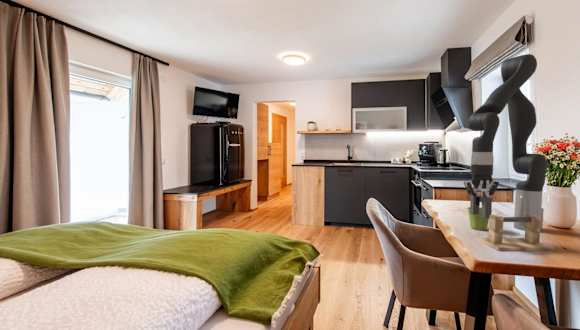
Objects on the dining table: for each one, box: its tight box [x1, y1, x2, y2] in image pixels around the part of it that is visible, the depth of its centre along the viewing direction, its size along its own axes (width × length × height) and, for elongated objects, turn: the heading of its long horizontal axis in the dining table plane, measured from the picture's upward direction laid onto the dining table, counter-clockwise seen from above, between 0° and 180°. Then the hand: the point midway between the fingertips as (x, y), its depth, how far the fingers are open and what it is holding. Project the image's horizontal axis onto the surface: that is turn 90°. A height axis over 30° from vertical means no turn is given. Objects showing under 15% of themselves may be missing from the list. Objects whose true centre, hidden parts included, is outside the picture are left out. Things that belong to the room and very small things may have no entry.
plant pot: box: [466, 206, 493, 231], centre depth 132 cm, size 9×9×9 cm
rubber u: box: [469, 194, 493, 219], centre depth 121 cm, size 2×9×8 cm, turn 3°
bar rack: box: [476, 214, 554, 252], centre depth 109 cm, size 20×11×11 cm, turn 92°
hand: (480, 205), depth 121 cm, fingers closed on rubber u, 2 cm apart
